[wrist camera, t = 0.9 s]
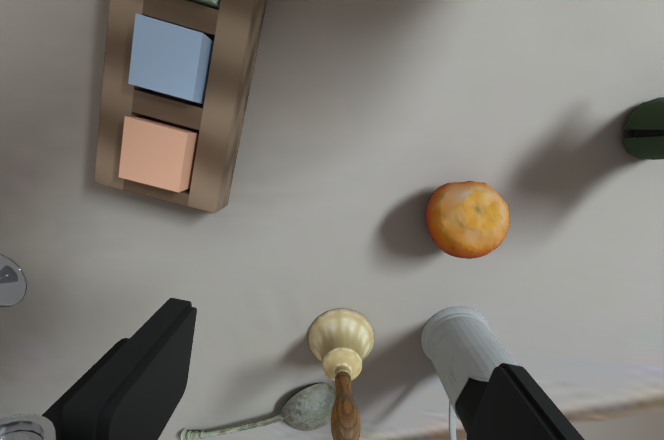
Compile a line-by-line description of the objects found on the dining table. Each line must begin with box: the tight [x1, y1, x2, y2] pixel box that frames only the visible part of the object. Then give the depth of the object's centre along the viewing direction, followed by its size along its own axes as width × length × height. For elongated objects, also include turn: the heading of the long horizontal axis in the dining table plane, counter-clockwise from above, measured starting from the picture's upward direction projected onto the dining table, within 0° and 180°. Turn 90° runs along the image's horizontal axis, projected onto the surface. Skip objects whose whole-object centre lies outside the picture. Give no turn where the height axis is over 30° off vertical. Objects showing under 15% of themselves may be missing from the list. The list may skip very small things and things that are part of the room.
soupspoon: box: [180, 383, 336, 440], centre depth 43 cm, size 22×3×7 cm
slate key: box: [128, 14, 214, 104], centre depth 29 cm, size 6×6×3 cm
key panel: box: [94, 0, 267, 213], centre depth 31 cm, size 26×12×4 cm, turn 165°
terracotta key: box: [118, 116, 199, 193], centre depth 31 cm, size 6×6×3 cm
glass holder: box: [421, 307, 519, 440], centre depth 34 cm, size 9×14×15 cm, turn 166°
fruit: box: [425, 181, 509, 259], centre depth 34 cm, size 8×8×8 cm
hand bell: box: [308, 309, 374, 440], centre depth 33 cm, size 8×8×16 cm
